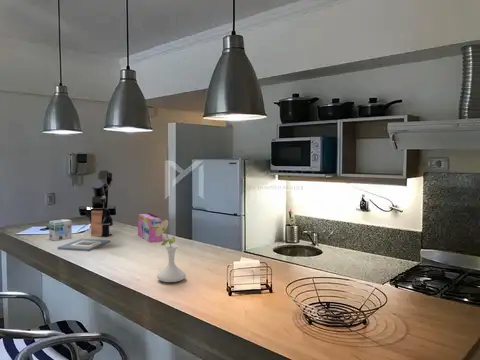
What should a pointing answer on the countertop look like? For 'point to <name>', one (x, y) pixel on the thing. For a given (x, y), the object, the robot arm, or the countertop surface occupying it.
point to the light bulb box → (60, 229)
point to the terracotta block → (96, 222)
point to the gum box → (149, 227)
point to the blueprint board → (84, 244)
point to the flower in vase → (171, 270)
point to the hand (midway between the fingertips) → (96, 223)
